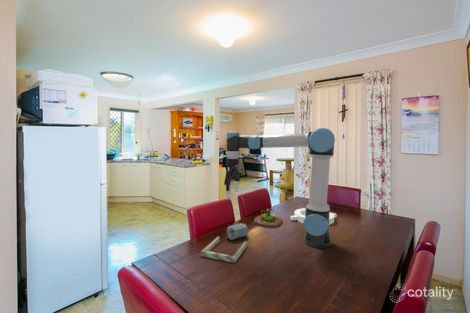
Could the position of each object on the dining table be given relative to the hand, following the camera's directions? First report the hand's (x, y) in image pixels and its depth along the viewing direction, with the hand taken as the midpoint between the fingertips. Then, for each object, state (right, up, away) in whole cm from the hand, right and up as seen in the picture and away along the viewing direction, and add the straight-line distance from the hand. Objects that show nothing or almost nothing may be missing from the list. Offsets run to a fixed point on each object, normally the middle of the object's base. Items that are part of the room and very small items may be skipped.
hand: (232, 193), depth 145 cm
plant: (+25, -25, +28) cm, 45 cm away
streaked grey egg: (+3, -27, +1) cm, 27 cm away
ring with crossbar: (+60, -25, +36) cm, 74 cm away
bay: (-3, -27, -16) cm, 32 cm away
